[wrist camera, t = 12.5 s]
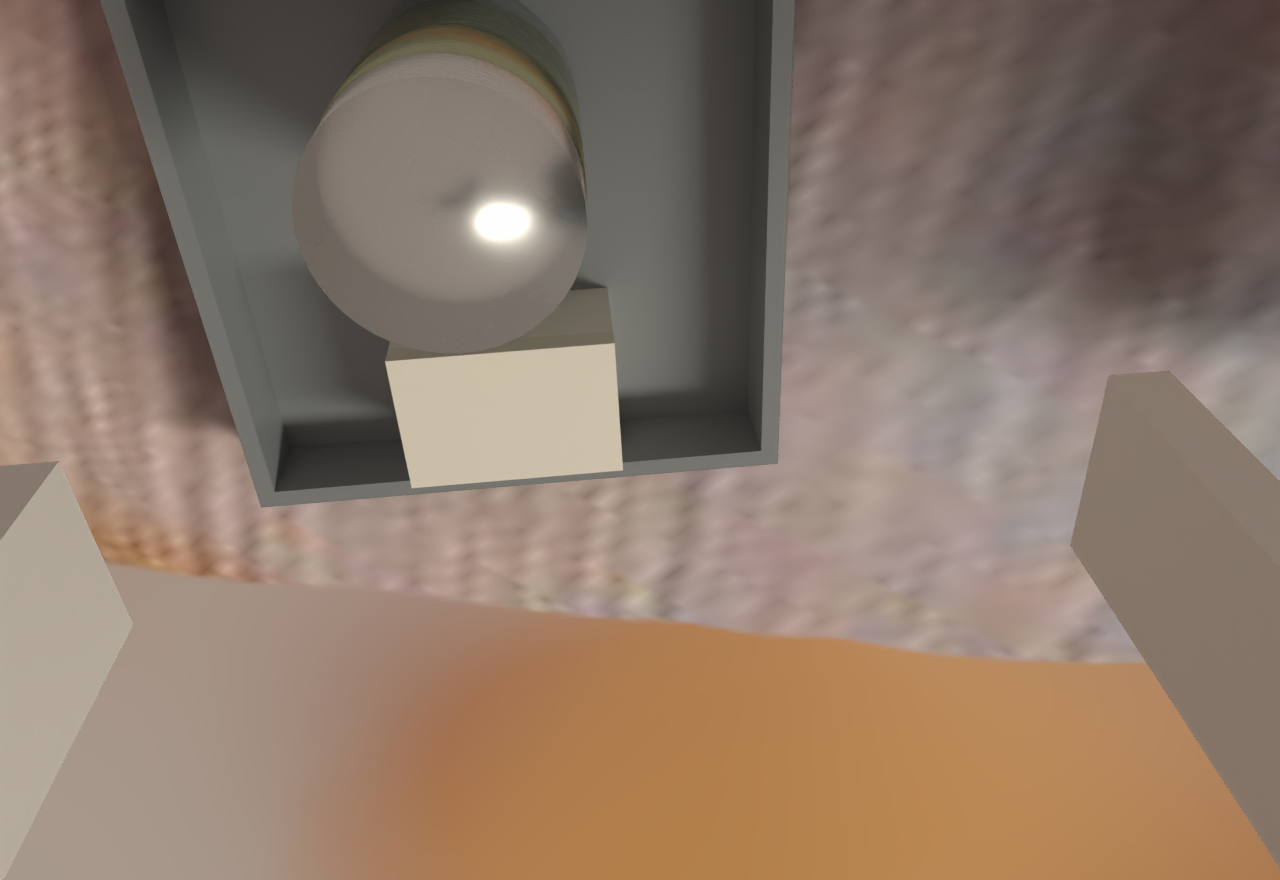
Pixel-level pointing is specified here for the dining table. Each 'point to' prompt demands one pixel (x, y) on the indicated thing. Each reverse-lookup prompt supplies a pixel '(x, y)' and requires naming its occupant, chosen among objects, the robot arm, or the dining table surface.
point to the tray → (616, 224)
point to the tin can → (448, 179)
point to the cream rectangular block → (514, 402)
